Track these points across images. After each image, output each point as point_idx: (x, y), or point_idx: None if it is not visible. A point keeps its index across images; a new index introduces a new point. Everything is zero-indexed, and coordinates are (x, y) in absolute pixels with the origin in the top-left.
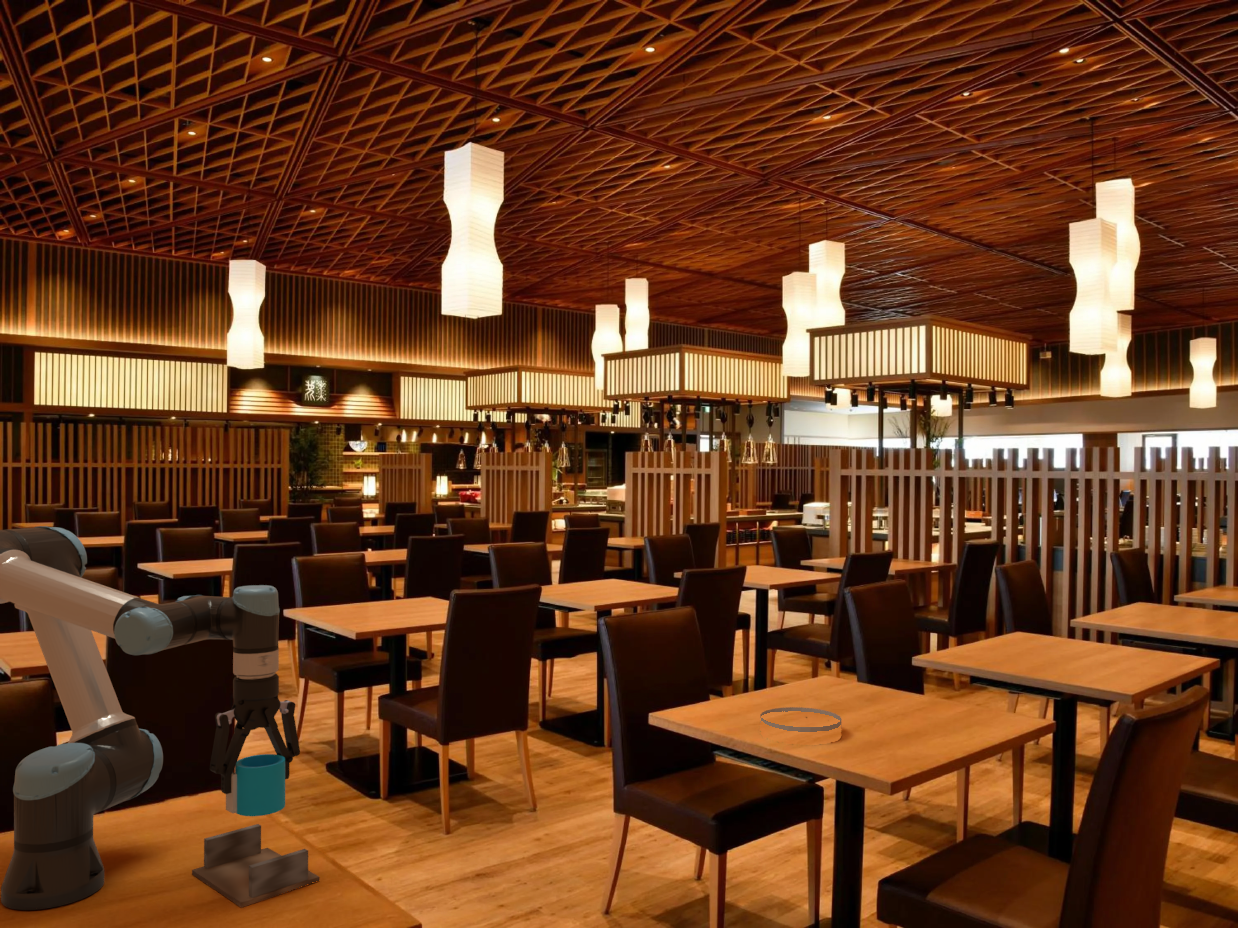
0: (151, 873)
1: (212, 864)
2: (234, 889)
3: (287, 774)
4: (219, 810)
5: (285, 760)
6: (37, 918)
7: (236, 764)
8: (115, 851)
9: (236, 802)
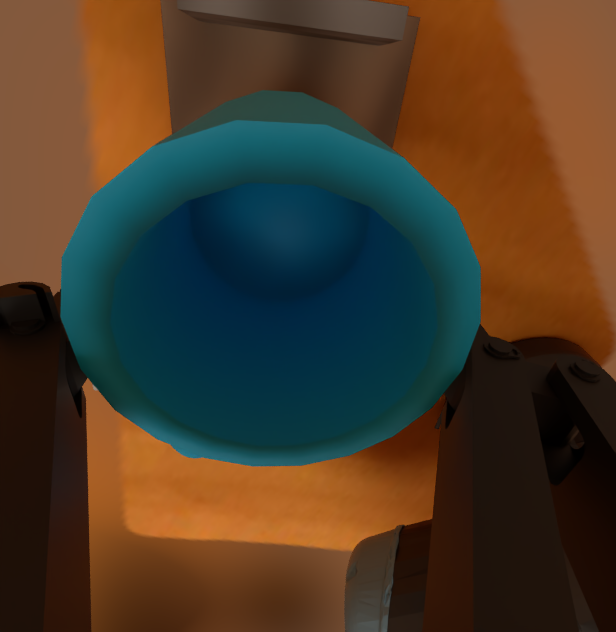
0: None
1: None
2: (372, 127)
3: None
4: (174, 488)
5: (56, 315)
6: (608, 324)
7: (439, 390)
8: (370, 454)
9: None
